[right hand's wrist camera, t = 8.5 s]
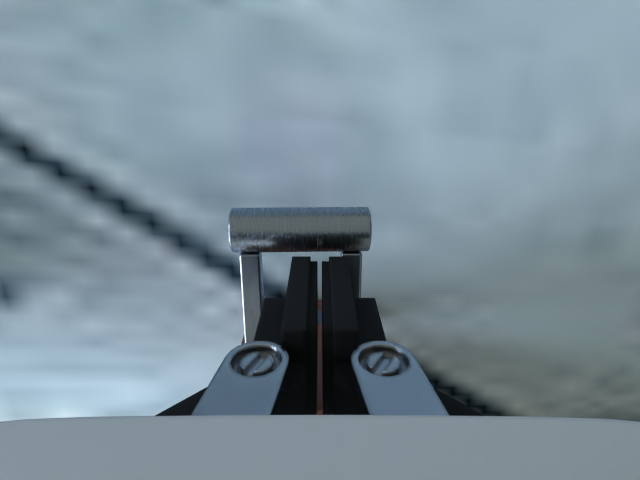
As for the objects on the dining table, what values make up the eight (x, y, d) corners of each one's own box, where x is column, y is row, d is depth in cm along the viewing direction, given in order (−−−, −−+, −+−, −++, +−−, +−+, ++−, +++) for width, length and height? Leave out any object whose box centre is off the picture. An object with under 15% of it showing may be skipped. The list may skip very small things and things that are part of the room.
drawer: (247, 181, 17) (203, 226, 10) (357, 180, 17) (392, 224, 10) (267, 558, 23) (249, 750, 16) (349, 556, 23) (366, 745, 16)
